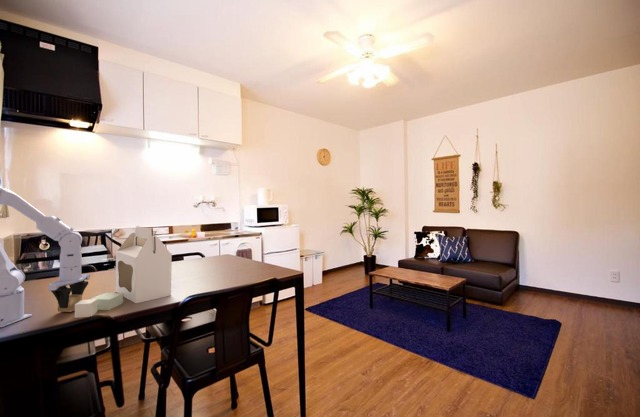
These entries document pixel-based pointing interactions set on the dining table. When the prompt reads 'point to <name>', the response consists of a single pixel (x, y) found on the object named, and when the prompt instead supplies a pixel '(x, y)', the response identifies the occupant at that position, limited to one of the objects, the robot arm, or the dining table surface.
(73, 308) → the oak cube
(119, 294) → the sage block
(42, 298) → the dining table surface
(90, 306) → the cream cube
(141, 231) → the gable box
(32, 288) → the dining table surface
